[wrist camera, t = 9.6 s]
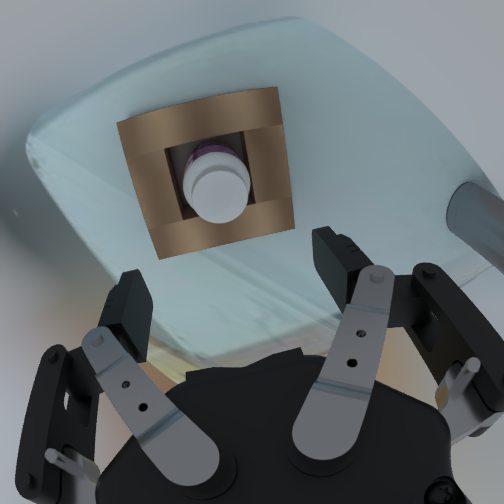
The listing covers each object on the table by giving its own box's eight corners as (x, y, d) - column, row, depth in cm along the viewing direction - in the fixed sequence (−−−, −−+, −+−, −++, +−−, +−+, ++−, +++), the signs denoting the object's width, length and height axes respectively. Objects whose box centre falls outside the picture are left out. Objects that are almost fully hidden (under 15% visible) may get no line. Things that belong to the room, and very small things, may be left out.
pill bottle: (179, 146, 26) (172, 169, 18) (233, 134, 27) (251, 152, 18) (191, 196, 29) (191, 240, 21) (241, 185, 29) (262, 223, 21)
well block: (266, 87, 25) (277, 86, 22) (284, 213, 32) (294, 228, 29) (127, 119, 24) (116, 122, 21) (162, 241, 31) (159, 259, 28)
